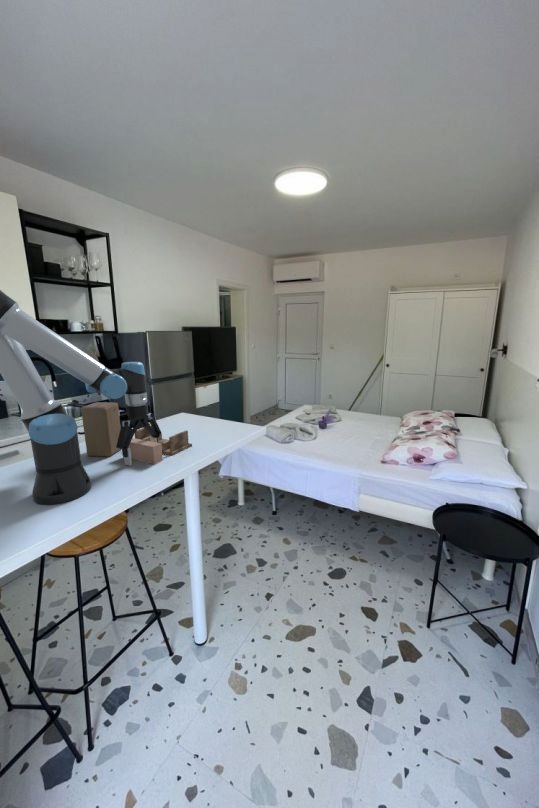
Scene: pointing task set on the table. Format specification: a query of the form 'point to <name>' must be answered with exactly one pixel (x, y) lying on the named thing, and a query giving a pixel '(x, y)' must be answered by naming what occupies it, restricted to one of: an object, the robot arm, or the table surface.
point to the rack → (167, 441)
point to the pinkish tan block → (146, 451)
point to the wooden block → (101, 428)
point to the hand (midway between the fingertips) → (142, 458)
